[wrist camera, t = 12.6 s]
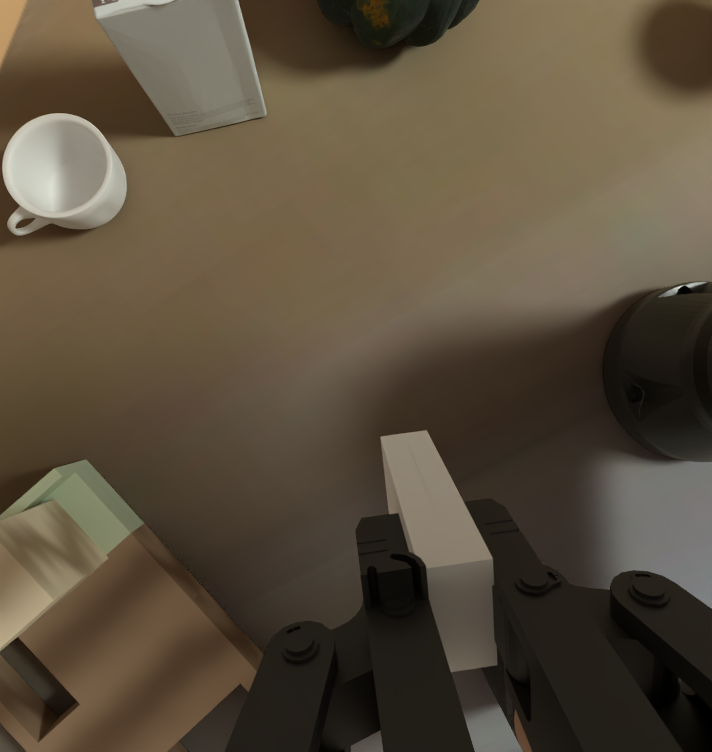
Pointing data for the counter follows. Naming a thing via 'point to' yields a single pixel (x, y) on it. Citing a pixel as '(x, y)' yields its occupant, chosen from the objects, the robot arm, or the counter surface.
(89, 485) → the pad
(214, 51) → the skincare box
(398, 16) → the squash
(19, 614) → the maple block
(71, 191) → the teacup
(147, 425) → the counter surface
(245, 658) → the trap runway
